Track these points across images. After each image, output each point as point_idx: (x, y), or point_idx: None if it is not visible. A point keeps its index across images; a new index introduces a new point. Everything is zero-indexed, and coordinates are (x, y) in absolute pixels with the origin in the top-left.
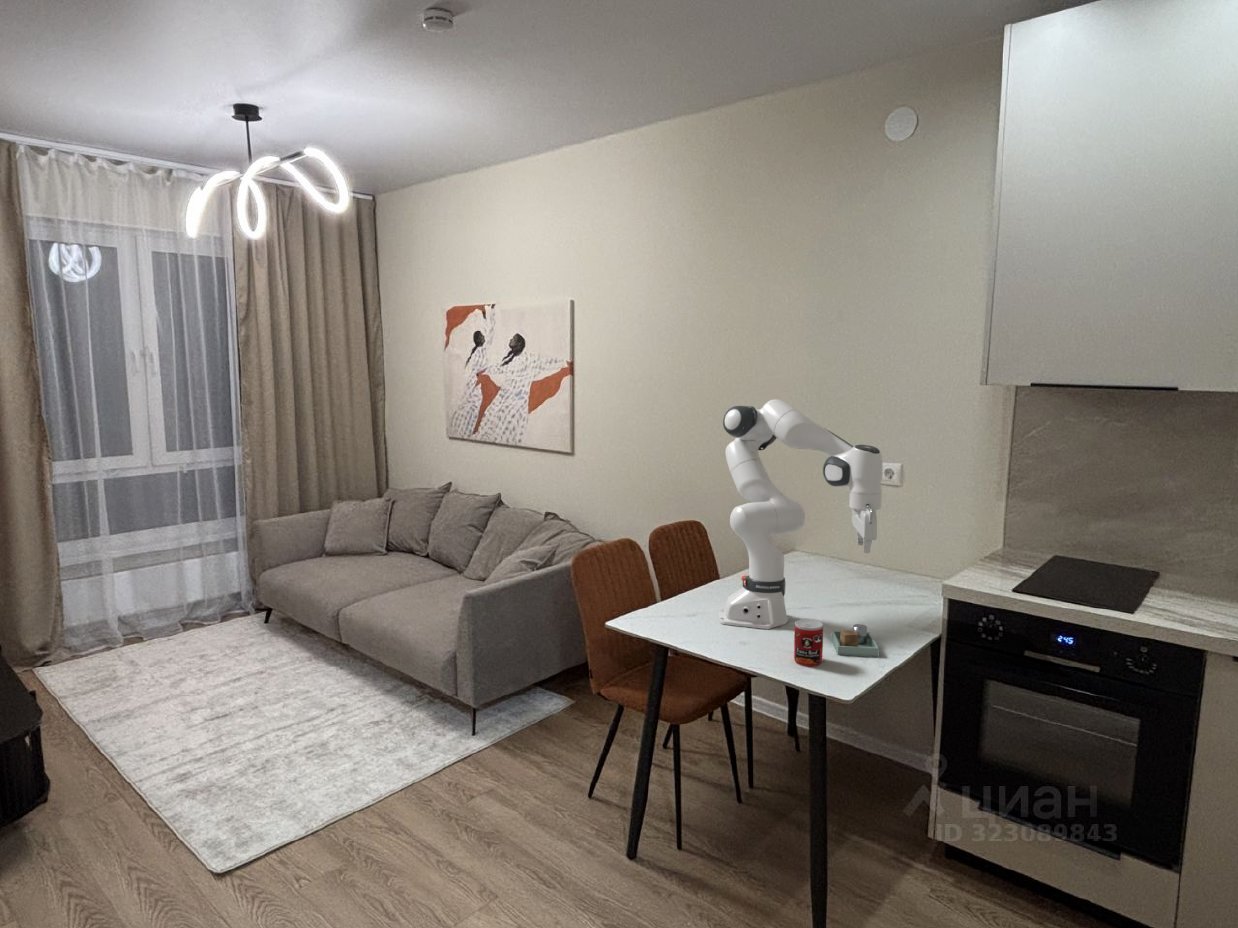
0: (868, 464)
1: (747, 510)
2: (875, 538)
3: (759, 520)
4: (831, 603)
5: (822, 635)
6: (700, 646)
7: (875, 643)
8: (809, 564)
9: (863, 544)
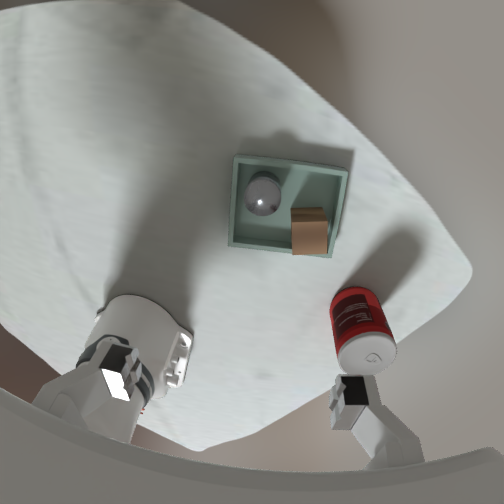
0: None
1: None
2: (500, 455)
3: None
4: (28, 192)
5: (383, 323)
6: (277, 413)
7: (315, 168)
8: None
9: (360, 442)
